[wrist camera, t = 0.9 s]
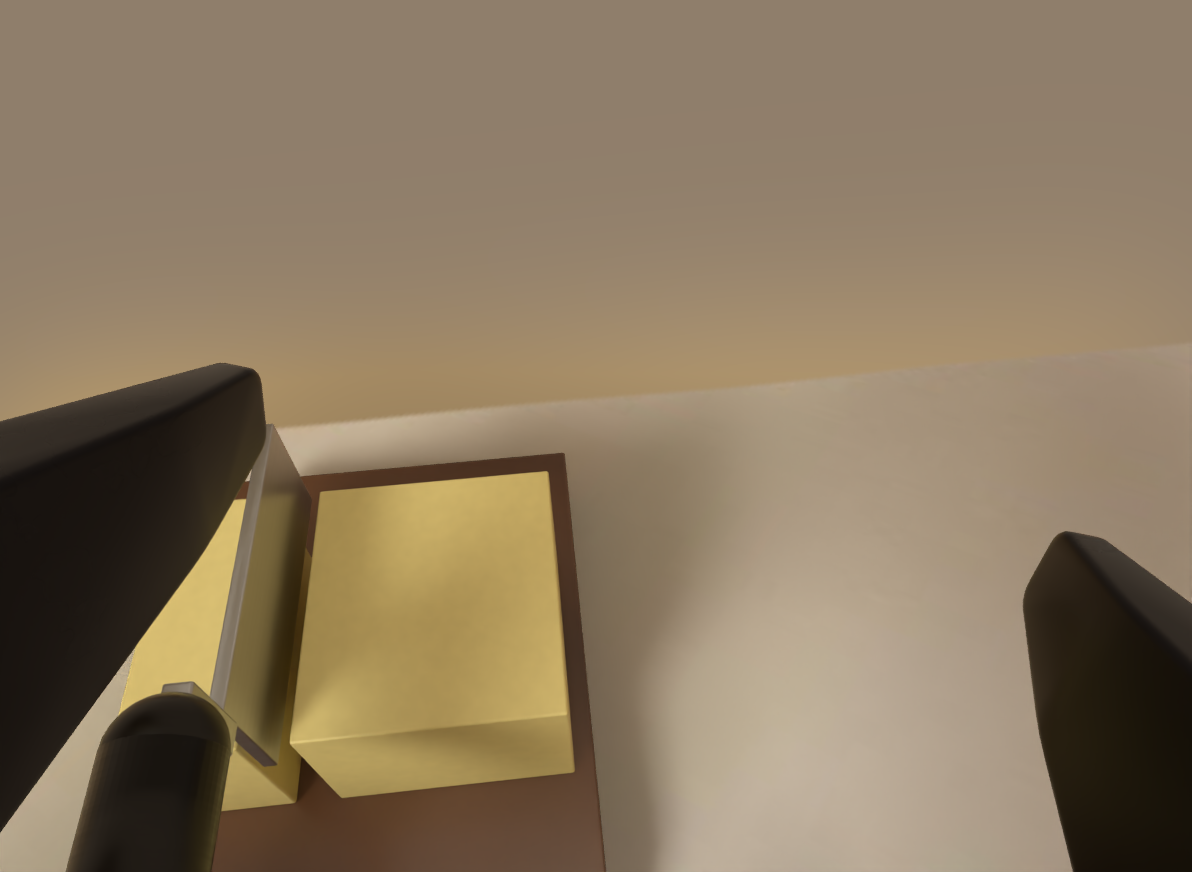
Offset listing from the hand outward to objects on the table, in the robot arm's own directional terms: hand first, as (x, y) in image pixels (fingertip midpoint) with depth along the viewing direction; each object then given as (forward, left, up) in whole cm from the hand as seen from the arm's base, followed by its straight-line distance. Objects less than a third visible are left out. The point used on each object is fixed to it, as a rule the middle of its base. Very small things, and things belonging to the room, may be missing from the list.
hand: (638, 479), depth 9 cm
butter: (0, +7, -13) cm, 14 cm away
